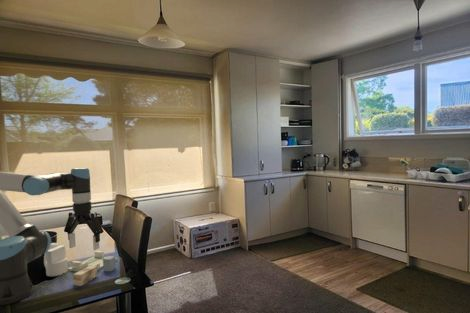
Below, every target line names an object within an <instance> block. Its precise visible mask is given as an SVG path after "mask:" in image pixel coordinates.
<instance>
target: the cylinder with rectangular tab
mask: <svg viewBox="0 0 470 313" xmlns="http://www.w3.org/2000/svg"><path fill="white" fill-rule="evenodd" d="M46 260H47V261H46V268H45V274H46V276H47V277H57V276H61V275H64V274H66V273H67V272H68V258H67V256H66V246H65V245H63V244H62V245H61V244H60V245H59V246H57V247H55V248H52V249H50V250H48V251H47V252H46ZM63 273H64V274H63Z"/></svg>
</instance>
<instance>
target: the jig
mask: <svg viewBox="0 0 470 313" xmlns="http://www.w3.org/2000/svg"><path fill="white" fill-rule="evenodd" d="M106 257H107V256H105V251H100V250H94V256H91V257H89V258H88V259H85V260H83V261H77V260H73V261H71V266H70V267H67V272H74V273H77V272H79V271H80V270H82V269H84V268H86V267H88V266H97V271H99V270H101V269H103V259H104V258H106ZM115 260H116V261H118V257H115Z"/></svg>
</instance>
